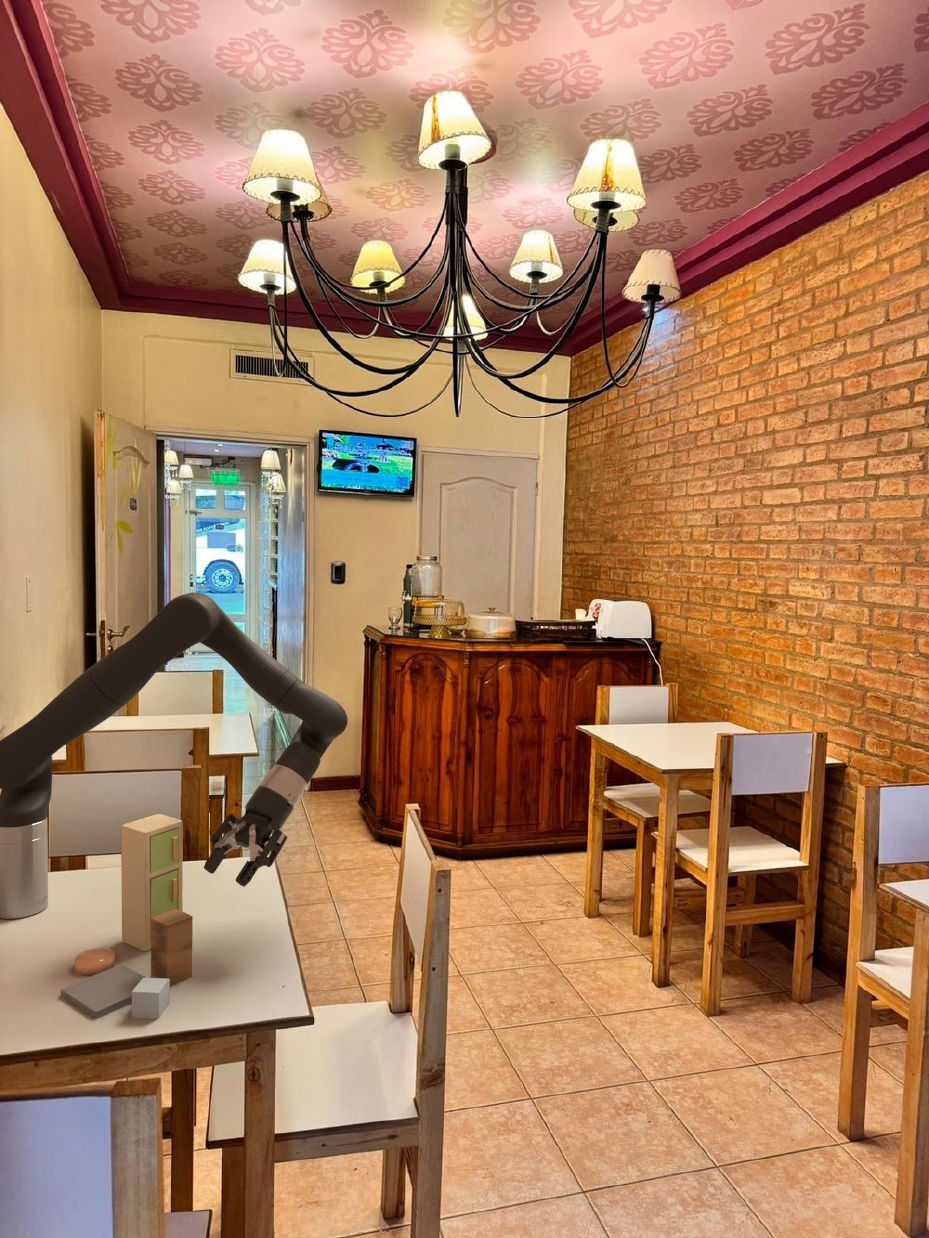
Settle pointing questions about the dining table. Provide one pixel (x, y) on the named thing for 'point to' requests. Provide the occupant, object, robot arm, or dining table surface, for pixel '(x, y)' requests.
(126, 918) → the toy refrigerator
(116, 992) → the slate coaster
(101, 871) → the dining table surface
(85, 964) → the orange disc
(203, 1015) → the dining table surface
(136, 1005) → the grey cube
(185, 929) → the walnut block
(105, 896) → the dining table surface
